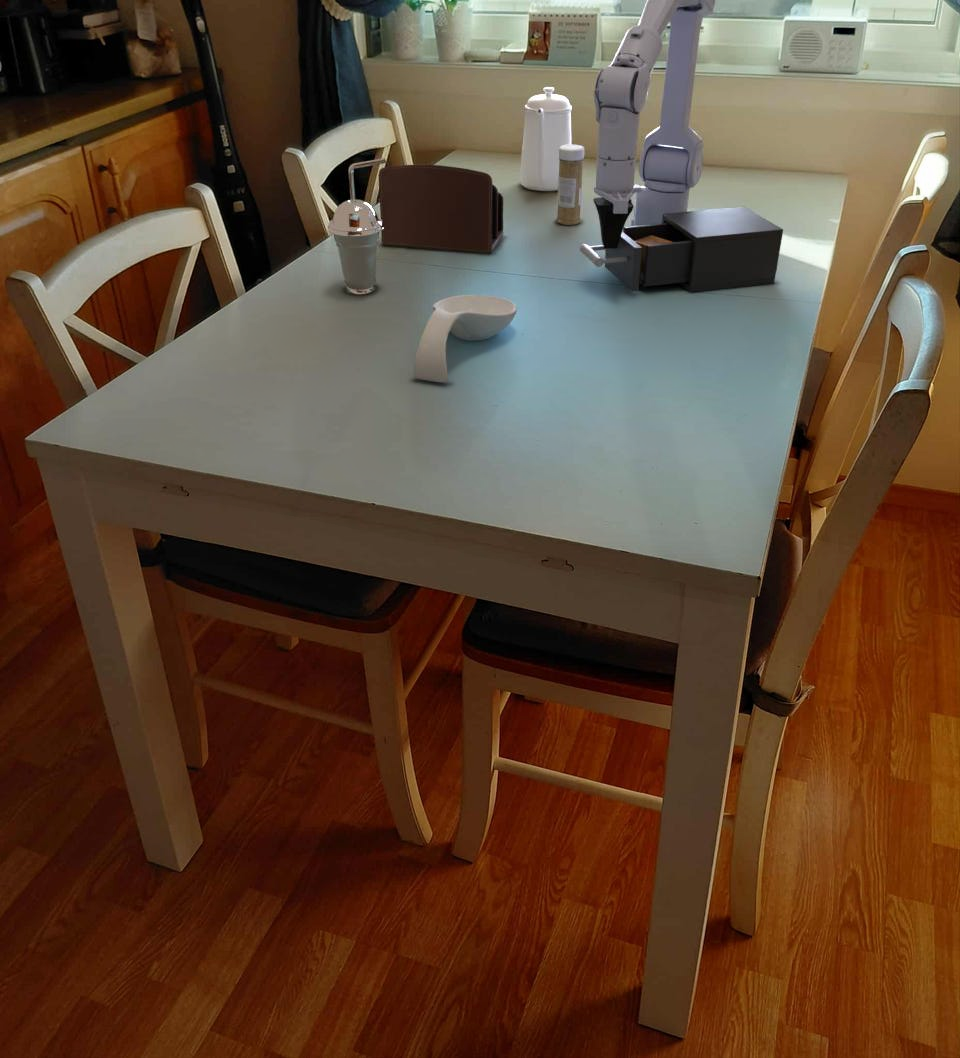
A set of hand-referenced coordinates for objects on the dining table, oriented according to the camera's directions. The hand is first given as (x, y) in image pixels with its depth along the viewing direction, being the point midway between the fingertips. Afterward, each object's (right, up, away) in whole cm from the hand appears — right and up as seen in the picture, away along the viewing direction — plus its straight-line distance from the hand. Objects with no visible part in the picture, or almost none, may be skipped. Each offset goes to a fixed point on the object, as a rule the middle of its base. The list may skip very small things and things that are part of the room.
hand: (610, 247), depth 151 cm
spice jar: (-4, +13, +31) cm, 34 cm away
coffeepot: (-7, +27, +51) cm, 58 cm away
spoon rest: (-23, -19, -16) cm, 33 cm away
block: (+7, -2, +4) cm, 8 cm away
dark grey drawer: (+6, -4, +4) cm, 8 cm away
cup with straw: (-39, -6, +3) cm, 39 cm away
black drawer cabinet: (+18, -2, +7) cm, 20 cm away
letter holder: (-27, +7, +22) cm, 35 cm away
